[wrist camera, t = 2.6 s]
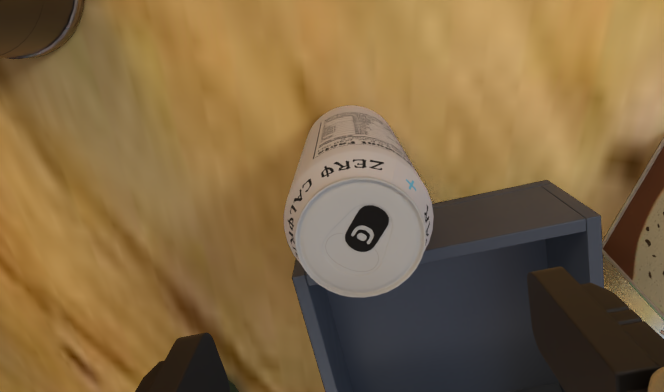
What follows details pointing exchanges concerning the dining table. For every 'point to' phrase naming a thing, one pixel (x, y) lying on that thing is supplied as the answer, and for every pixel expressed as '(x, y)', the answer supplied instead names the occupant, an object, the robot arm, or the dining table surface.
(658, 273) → the food container
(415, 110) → the dining table surface
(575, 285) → the robot arm
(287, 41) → the dining table surface
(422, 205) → the energy drink can
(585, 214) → the tub
